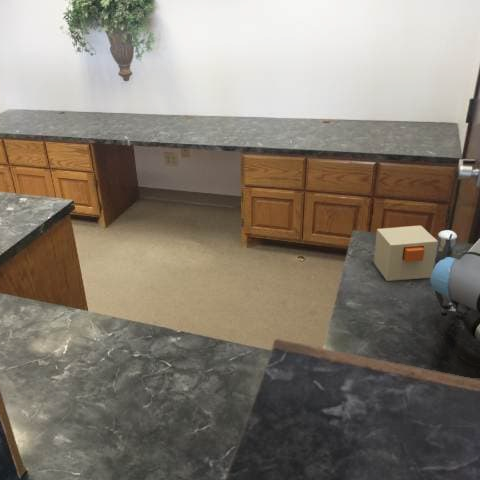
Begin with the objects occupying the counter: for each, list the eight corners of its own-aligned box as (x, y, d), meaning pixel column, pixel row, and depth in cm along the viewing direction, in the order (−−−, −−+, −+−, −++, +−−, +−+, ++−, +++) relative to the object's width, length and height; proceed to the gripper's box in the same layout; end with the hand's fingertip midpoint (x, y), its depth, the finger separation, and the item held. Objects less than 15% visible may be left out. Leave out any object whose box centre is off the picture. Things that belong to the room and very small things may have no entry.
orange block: (419, 256, 135) (421, 246, 134) (423, 260, 133) (424, 249, 132) (402, 258, 135) (404, 247, 134) (406, 261, 134) (407, 251, 132)
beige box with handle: (416, 259, 146) (420, 225, 141) (432, 277, 137) (437, 241, 132) (373, 263, 147) (376, 228, 142) (387, 281, 138) (390, 245, 133)
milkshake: (437, 265, 142) (442, 233, 138) (432, 256, 147) (437, 225, 142) (455, 266, 141) (461, 234, 136) (450, 257, 145) (455, 225, 141)
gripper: (456, 346, 103) (406, 285, 124) (522, 341, 102) (461, 281, 123) (462, 315, 99) (410, 258, 121) (531, 310, 99) (466, 253, 120)
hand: (436, 269), depth 122 cm, fingers closed
